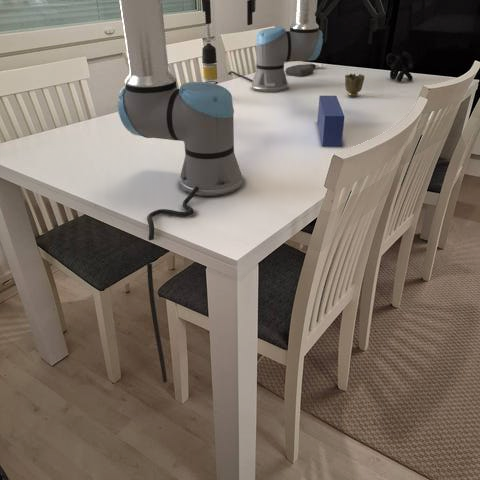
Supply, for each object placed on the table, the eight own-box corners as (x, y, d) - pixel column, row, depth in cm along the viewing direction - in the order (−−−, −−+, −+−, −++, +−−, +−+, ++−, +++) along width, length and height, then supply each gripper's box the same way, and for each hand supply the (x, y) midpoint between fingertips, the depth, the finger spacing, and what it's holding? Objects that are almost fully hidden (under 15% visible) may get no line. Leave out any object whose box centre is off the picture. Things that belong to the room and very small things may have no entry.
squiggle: (400, 92, 202) (376, 71, 205) (417, 76, 202) (392, 56, 205) (405, 81, 191) (380, 59, 194) (423, 64, 191) (397, 42, 194)
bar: (341, 146, 131) (344, 116, 126) (322, 146, 131) (324, 115, 126) (333, 122, 150) (336, 95, 145) (317, 122, 150) (319, 95, 145)
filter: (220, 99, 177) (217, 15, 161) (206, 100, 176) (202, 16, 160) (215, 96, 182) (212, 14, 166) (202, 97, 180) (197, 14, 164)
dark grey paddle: (283, 74, 214) (310, 66, 231) (302, 77, 208) (328, 69, 225) (283, 67, 213) (310, 60, 229) (302, 70, 207) (329, 62, 223)
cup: (340, 97, 177) (342, 76, 172) (346, 93, 182) (348, 72, 178) (359, 99, 174) (362, 78, 169) (364, 95, 179) (366, 74, 175)
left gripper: (272, -60, 125) (271, 23, 136) (191, -58, 132) (196, 21, 144) (265, -61, 119) (264, 26, 130) (180, -58, 126) (186, 24, 138)
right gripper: (401, -40, 125) (389, 42, 136) (312, -38, 132) (308, 40, 143) (400, -41, 119) (388, 45, 130) (308, -38, 126) (303, 43, 137)
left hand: (228, 24), depth 137 cm, fingers open, 13 cm apart
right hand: (346, 43), depth 136 cm, fingers open, 13 cm apart
